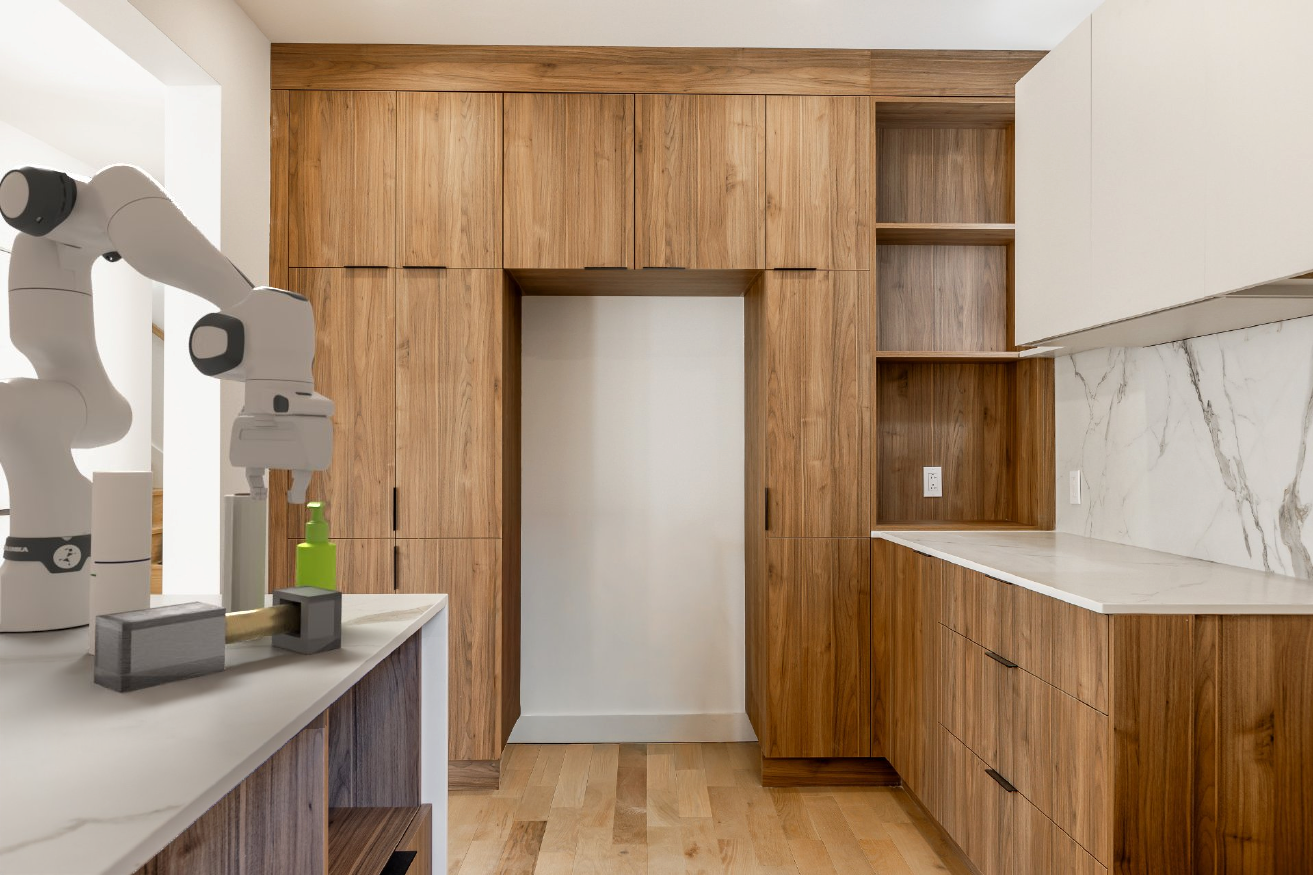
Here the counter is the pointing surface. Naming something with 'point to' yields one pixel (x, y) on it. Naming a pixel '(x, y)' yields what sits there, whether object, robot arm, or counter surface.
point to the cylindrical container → (120, 544)
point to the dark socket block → (311, 619)
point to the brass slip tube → (263, 622)
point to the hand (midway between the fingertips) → (277, 501)
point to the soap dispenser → (316, 553)
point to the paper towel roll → (243, 553)
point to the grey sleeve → (159, 645)
